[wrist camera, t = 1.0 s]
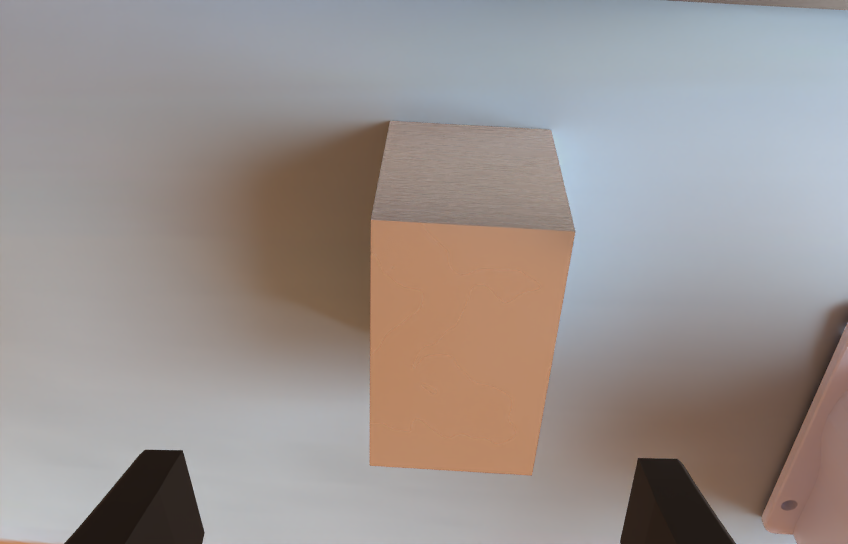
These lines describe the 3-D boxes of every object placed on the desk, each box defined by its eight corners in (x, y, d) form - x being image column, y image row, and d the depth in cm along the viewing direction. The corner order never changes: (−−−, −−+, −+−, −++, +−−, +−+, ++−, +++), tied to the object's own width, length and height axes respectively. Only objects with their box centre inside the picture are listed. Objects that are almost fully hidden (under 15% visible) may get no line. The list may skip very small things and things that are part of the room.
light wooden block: (519, 345, 23) (532, 475, 19) (384, 337, 23) (366, 465, 19) (550, 128, 19) (575, 231, 15) (387, 118, 19) (367, 219, 15)
